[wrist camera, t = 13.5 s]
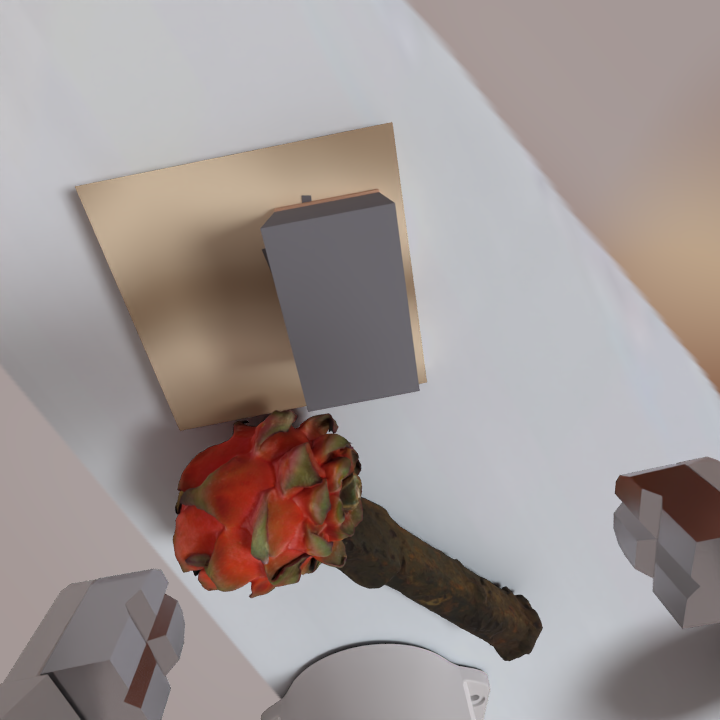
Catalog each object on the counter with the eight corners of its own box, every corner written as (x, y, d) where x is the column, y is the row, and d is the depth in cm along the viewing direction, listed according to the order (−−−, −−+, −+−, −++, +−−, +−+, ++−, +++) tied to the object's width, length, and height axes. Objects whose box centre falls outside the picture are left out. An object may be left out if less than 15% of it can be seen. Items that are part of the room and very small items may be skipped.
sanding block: (399, 343, 22) (420, 392, 17) (311, 360, 22) (308, 413, 17) (377, 188, 19) (394, 199, 14) (274, 208, 19) (259, 225, 14)
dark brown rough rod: (528, 588, 33) (558, 652, 28) (486, 617, 34) (509, 683, 29) (337, 448, 26) (340, 503, 22) (293, 489, 27) (287, 550, 23)
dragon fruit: (365, 382, 26) (235, 481, 30) (252, 347, 19) (106, 482, 23) (433, 526, 21) (270, 616, 26) (319, 547, 15) (125, 665, 19)
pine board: (421, 369, 24) (427, 382, 23) (187, 415, 24) (179, 431, 23) (387, 124, 19) (392, 122, 18) (92, 184, 19) (74, 186, 18)
